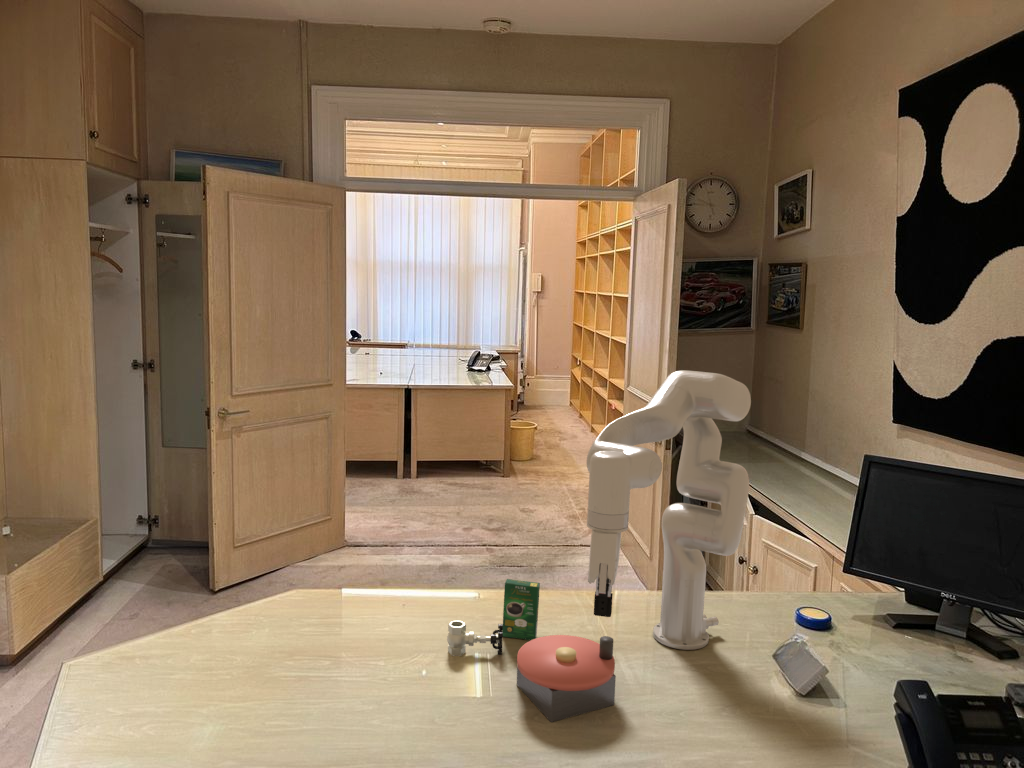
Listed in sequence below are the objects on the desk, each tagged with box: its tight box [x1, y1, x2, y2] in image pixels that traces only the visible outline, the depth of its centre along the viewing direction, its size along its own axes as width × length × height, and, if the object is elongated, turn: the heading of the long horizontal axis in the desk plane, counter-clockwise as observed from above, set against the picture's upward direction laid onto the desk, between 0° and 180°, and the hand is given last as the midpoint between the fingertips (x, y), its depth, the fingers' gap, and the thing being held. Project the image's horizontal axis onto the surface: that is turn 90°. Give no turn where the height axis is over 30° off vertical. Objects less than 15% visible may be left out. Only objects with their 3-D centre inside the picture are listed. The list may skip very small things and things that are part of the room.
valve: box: [446, 620, 504, 657], centre depth 160 cm, size 7×7×12 cm
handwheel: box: [516, 634, 616, 691], centre depth 143 cm, size 19×19×5 cm
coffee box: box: [502, 578, 541, 641], centre depth 167 cm, size 8×3×13 cm, turn 79°
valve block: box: [516, 665, 617, 723], centre depth 144 cm, size 14×14×6 cm
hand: (602, 614), depth 137 cm, fingers closed
